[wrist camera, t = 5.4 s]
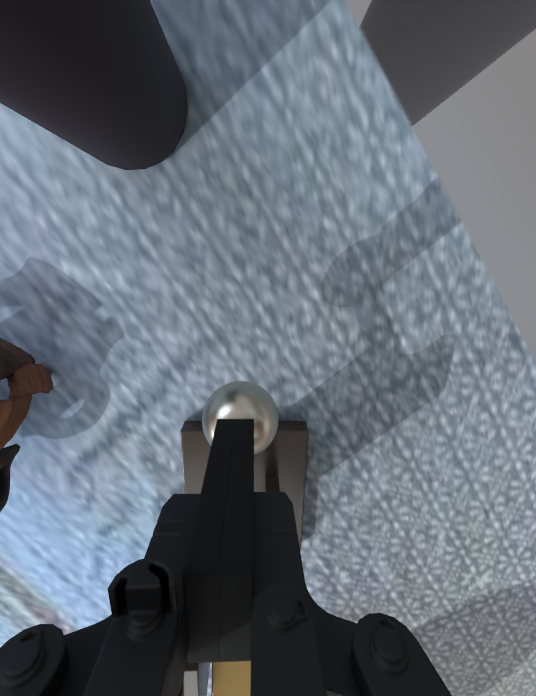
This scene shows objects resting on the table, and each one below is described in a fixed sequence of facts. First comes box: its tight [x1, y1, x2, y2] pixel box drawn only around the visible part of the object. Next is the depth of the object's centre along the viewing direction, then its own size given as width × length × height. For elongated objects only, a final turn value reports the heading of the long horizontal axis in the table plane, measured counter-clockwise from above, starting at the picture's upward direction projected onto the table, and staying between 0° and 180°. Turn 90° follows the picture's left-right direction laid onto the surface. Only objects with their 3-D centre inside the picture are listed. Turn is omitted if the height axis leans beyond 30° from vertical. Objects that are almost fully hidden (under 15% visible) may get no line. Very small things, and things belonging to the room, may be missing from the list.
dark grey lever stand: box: [181, 421, 308, 696], centre depth 20 cm, size 12×9×13 cm
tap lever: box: [202, 381, 279, 696], centre depth 15 cm, size 14×4×4 cm, turn 179°
